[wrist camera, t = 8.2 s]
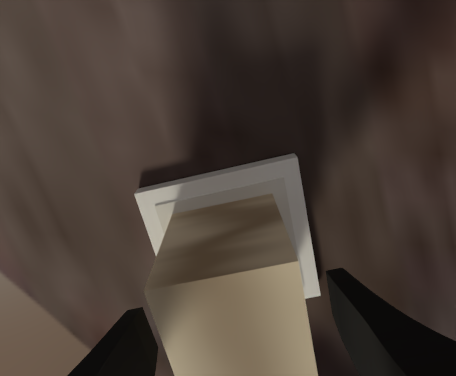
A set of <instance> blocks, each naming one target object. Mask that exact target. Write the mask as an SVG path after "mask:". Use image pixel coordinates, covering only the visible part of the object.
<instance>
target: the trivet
mask: <svg viewBox="0 0 456 376" xmlns="http://www.w3.org/2000/svg"><path fill="white" fill-rule="evenodd" d="M271 193H272V194H273V197H274V199H275V202H276V204H277V207H278V210H279V212H280V215H281V217H282V220H283V223H284V225H285V228H286V230H287V233H288V235H289V238H290V241H291V243H292V246H293V248H294V251H295V254H296V256H297V259H298V262H299V268H300V273H301V279H302V285H303V291H304V297H305V299H306V298H311V297H316V296H321V295H320V289H319V283H318V277H317V271H316V265H315V259H314V253H313V247H312V241H311V235H310V229H309V223H308V217H307V211H306V205H305V199H304V193H303V188H302V182H301V176H300V170H299V164H298V158H297V156H296V155H295V154H294V153H292V154H288V155H284V156H279V157H275V158H270V159H266V160H262V161H257V162H253V163H248V164H244V165H240V166H235V167H231V168H226V169H222V170H218V171H213V172H209V173H204V174H200V175H196V176H191V177H187V178H182V179H178V180H174V181H169V182H165V183H161V184H156V185H152V186H147V187H143V188H139V189H138V190H137V191H136V192H135V194H134V195H135V198H136V201H137V203H138V206H139V209H140V212H141V215H142V218H143V220H144V223H145V226H146V229H147V232H148V235H149V237H150V240H151V243H152V246H153V249H154V252H155V254H156V256H157V254H158V251H159V248H160V246H161V243H162V240H163V237H164V235H165V232H166V229H167V227H168V224H169V221H170V219H171V216H172V214H175V213H180V212H185V211H190V210H195V209H199V208H204V207H209V206H214V205H219V204H223V203H228V202H233V201H238V200H243V199H247V198H252V197H257V196H262V195H267V194H271Z"/></svg>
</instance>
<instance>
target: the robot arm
mask: <svg viewBox="0 0 456 376" xmlns="http://www.w3.org/2000/svg"><path fill="white" fill-rule="evenodd" d="M326 276H327V282H328V288H329V295H330V301H331V308H332V314H333V317H334V320H335V323H336V325H337V328H338V331H339V333H340V336H341V339H342V341H343V343H344V345H345V347H346V349H347V351H348V353H349V355H350V357H351V359H352V361H353V363H354V365H355V367H356V369H357V371H358V373H359V375H360V376H456V341H454V340H452V339H450V338H448V337H445V336H443V335H441V334H439V333H437V332H435V331H433V330H432V329H430V328H428V327H426V326H424V325H422V324H421V323H419V322H417V321H415V320H413V319H412V318H410V317H409V316H407V315H405V314H404V313H402V312H401V311H399V310H398V309H396V308H395V307H393V306H392V305H390V304H389V303H387V302H386V301H384V300H383V299H382V298H380V297H379V296H378V295H376V294H375V293H373V292H372V291H371V290H369V289H368V288H367V287H366V286H364V285H363V284H362V283H360V282H359V281H358V280H357V279H356V278H354V277H353V276H352V275H351V274H350V273H348V272H347V271H346V270H345V269H343V268H338V269H333V270H328V271H326ZM157 353H158V346H157V343H156V341H155V338H154V336H153V333H152V330H151V328H150V325H149V323H148V320H147V318H146V315H145V313H144V310H143V307H141V308H136V309H131V310H127V311H126V312H125V313H124V314H123V316H122V317H121V318H120V319H119V320H118V321H117V322H116V323H115V324H114V326H113V327H112V328H111V329H110V330H109V331H108V332H107V334H106V335H105V336H104V337H103V338H102V339H101V340H100V341H99V343H98V344H97V345H96V346H95V347H94V348H93V349H92V350H91V352H90V353H89V354H88V355H87V356H86V357H85V358H84V359H83V360H82V361H81V362H80V363H79V364H78V365H77V366H76V367H75V368H74V369H73V370H72V371H71V372H70V374H69V375H68V376H155V369H156V362H157Z"/></svg>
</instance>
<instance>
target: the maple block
mask: <svg viewBox="0 0 456 376" xmlns="http://www.w3.org/2000/svg"><path fill="white" fill-rule="evenodd" d="M144 294H145V296H146V299H147V302H148V304H149V307H150V310H151V313H152V315H153V318H154V321H155V323H156V326H157V329H158V332H159V334H160V337H161V340H162V342H163V345H164V348H165V351H166V353H167V356H168V359H169V361H170V364H171V367H172V370H173V372H174V375H175V376H318V372H317V366H316V361H315V355H314V349H313V343H312V337H311V332H310V326H309V320H308V314H307V308H306V302H305V297H304V291H303V285H302V279H301V273H300V268H299V262H298V259H297V256H296V254H295V251H294V248H293V246H292V243H291V241H290V238H289V235H288V233H287V230H286V228H285V225H284V223H283V220H282V217H281V215H280V212H279V210H278V207H277V204H276V202H275V199H274V197H273V194H272V193H271V194H267V195H262V196H257V197H252V198H247V199H243V200H238V201H233V202H228V203H223V204H219V205H214V206H209V207H204V208H199V209H195V210H190V211H185V212H180V213H175V214H172V216H171V219H170V221H169V224H168V227H167V229H166V232H165V235H164V237H163V240H162V243H161V246H160V248H159V251H158V254H157V256H156V259H155V262H154V264H153V267H152V270H151V272H150V275H149V278H148V280H147V283H146V286H145V289H144Z"/></svg>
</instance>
